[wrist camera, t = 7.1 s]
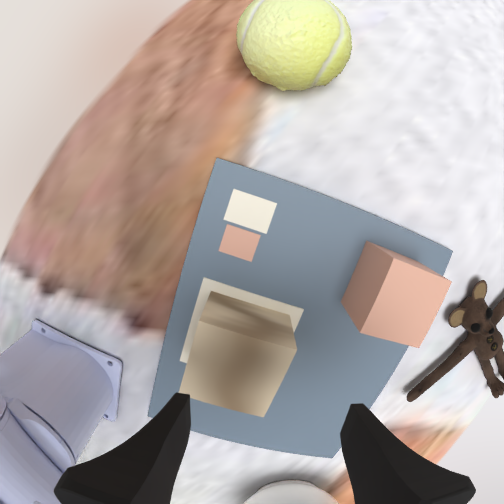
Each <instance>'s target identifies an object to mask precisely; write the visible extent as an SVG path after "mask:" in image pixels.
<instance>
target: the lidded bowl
mask: <svg viewBox="0 0 504 504" xmlns="http://www.w3.org/2000/svg"><path fill="white" fill-rule="evenodd" d="M243 504H339V503H338V502H337V501H336V500H335V498H333V497H332V496H331V495H330V494H329V493H327V492H326V491H324V490H322V489H320V488H317V487H316V486H315V485H314V484H312V483H310V482H307V481H301V480H284V481H278V482H273V483H270V484H267V485H265V486H263V487H262V488H260V489H259V490H258V491H257V493H255V494H254V495H252V496H251V497H250V498H248V499H247V500H246V501H245V502H244V503H243Z"/></svg>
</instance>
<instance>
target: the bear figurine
mask: <svg viewBox="0 0 504 504" xmlns="http://www.w3.org/2000/svg"><path fill="white" fill-rule="evenodd" d="M486 293H487V284H486V281H485V280H481V281H479V282H478V283H477V284H476V285H475V287H474V288H473V291H472V296H470V297H468V298H466V299H465V300H464V301H463V302H462V303H461V304H460V306H459V308H456V309H455V310H453V311H452V313H451V314H450V316H449V319H448V322H449V325H450V326H451V327H454V328H455V327H458V326H459V325H462V326H463V327H464V328H465V329H466V330H467V331H468V336H467V338H466V339H465V340H464V341H462V342H461V343H460V344H459V346H458V347H457V348H456V349H455V350H454V352H453V353H452V354H451V355H450V356H449V357H448V358H447V359H446V360H445V361H444V362H443V363H442V364H440V365H439V366H438V367H437V368H436V369H435V370H434V371H432V372H431V373H430V374H429V375H428V376H426V377H425V378H424V379H423V380H422V381H421V382H420V383H419V384H417V385H416V386H415V387H414V388H413V389H412V390H411V391H410V392H409V393H408V395H407V401H409V402H412V401H414V400H415V399H417V398H418V397H419V396H420V395H421V394H423V393H424V392H425V391H426V390H427V389H429V388H430V387H431V386H432V385H433V384H434V383H436V382H437V381H438V380H439V379H440V378H442V377H443V376H444V375H445V374H446V373H448V372H449V371H450V370H451V369H452V368H453V367H455V366H456V365H457V364H458V363H459V362H460V361H461V360H463V359H464V358H465V357H466V356H467V355H468V354H469V353H470V352H471V351H472V350H473V349H474V351H475V353H476V355H477V356H478V358H479V361H480V363H481V366H482V370H483V371H484V376H485V378H487V384H488V386H489V387H490V389H491V392H492V395H493V396H494V397H495V398H498V397H499V395H503V393H504V383H503V382H501V381H500V380H499V379H498V378H497V377H496V376H495V375H494V372H493V367H492V366H491V363H490V360H489V359H492V358H493V357H494V355H495V357H496V361H497V364H498V368H499V374H500V375H501V376H502V378H503V379H504V352H503V349H502V345H503V337H502V335H501V333H500V332H499V331H498V330H497V328H496V325H497V323H498V322H499V321H500V320H501V319H502V317H503V316H504V298H503V299H502V300H501V301H500V302H499V303H498V304H497V306H496V307H495V308H494V309H493V310H492V309H491V308H488V306H487V304H486V302H485V300H484V298H485V296H486Z"/></svg>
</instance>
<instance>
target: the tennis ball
mask: <svg viewBox="0 0 504 504" xmlns="http://www.w3.org/2000/svg"><path fill="white" fill-rule="evenodd" d="M236 36H237V45H238V48H239V50H240V52H241V54H242V56H243V60H244V62H245V64H246V65H247V67H248V68H249V69H250V71H251V73H252V75H253V76H255V77H257V78H258V80H260V81H262V82H265V83H267V84H271V85H273V86H275V87H277V88H278V89H280V90H282V91H285V90H288V89H289V90H295V91H296V90H301V91H302V90H305V89H308V88H311V87H314V86H321V85H326V84H328V83H329V82H330V81H331V80H332V79H334V78H335V77H337V75H338V74H339V73H340V74H341V71H342V70H343V69H344V67H345V66H346V63H347V62H348V61H349V59H350V55H351V53H350V52H351V50H352V45H351V44H352V42H351V33H350V28H349V25H348V23H347V21H346V18H345V16H344V15H343V14H342V12H341V11H340V10H339V9H338V8H337V7H336V6H335V5H334V4H333V3H332V2H331V1H329V0H254V1H252V3H250V4H249V6H248V7H247V8H246V9H245V10H244V12H243V14H242V15H241V17H240V19H239V22H238V24H237V34H236Z"/></svg>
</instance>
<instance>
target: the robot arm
mask: <svg viewBox="0 0 504 504" xmlns="http://www.w3.org/2000/svg"><path fill="white" fill-rule="evenodd" d="M44 329H45V330H44ZM110 361H111V362H112V363H113V364H112V363H110ZM121 373H122V363H121V361H120V360H118V359H116V358H114V357H111V356H109V355H107V354H105V353H102V352H100V351H98V350H96V349H93V348H91V347H89V346H87V345H85V344H83V343H81V342H79V341H77V340H74V339H72V338H70V337H68V336H66V335H64V334H63V333H61V332H59V331H57V330H55V329H53V328H51V327H49V326H47V325H45V324H44V323H42V322H40V321H38V320H34V321H32V330H30V331H29V332H28V333H27V334H25V335H24V336H23V337H21V338H20V339H19V340H18V341H16V342H15V343H14V344H13V345H12V346H10V347H9V348H8V349H7V350H5V351H4V352H3V353H2V354H1V355H0V504H170V500H171V495H172V490H173V486H174V482H175V479H176V476H177V473H178V470H179V467H180V464H181V462H182V459H183V456H184V453H185V450H186V447H187V444H188V439H189V434H190V428H191V410H190V394H184V393H177V392H176V393H175V394H174V395H173V396H172V397H171V399H170V400H169V401H168V402H167V403H166V405H165V406H164V407H163V408H162V409H161V410H160V411H159V412H158V413H157V414H156V416H155V417H154V418H153V419H152V420H151V421H150V422H149V423H147V424H146V425H145V426H144V427H143V428H142V429H141V430H140V431H138V432H137V433H136V434H135V435H133V436H132V437H131V438H129V439H128V440H127V441H125V442H124V443H122V444H121V445H119V446H117V447H116V448H114V449H112V450H111V451H109V452H107V453H105V454H103V455H101V456H99V457H97V458H94V459H92V460H90V461H87V462H84V463H81V464H78V465H75V464H76V462H77V460H78V458H79V457H80V455H81V453H82V451H83V449H84V448H85V446H86V444H87V442H88V441H89V439H90V437H91V435H92V434H93V432H94V430H95V428H96V427H97V425H98V423H99V422H100V420H101V418H102V417H103V418H105V419H107V420H110V421H115V420H116V418H117V409H118V399H119V389H120V381H121ZM340 439H341V446H342V452H343V456H344V460H345V463H346V467H347V470H348V474H349V478H350V481H351V485H352V489H353V493H354V500H355V504H467V503H468V501H470V500H471V498H472V497H473V496H474V494H475V492H476V489H475V487H474V485H473V483H472V482H471V480H470V478H469V477H468V476H465V475H461V474H458V473H455V472H452V471H449V470H447V469H445V468H442V467H440V466H438V465H436V464H434V463H432V462H430V461H429V460H427V459H425V458H423V457H422V456H420V455H419V454H417V453H416V452H414V451H413V450H411V449H410V448H409V447H407V446H406V445H405V444H404V443H402V442H401V441H400V440H399V439H398V438H397V437H396V436H394V435H393V434H392V433H391V432H390V431H389V430H388V429H387V428H386V427H385V426H384V425H383V424H382V423H381V422H380V421H379V420H378V419H377V417H376V416H375V415H374V414H373V413H372V412H371V411H370V410H369V409H368V408H367V407H366V406H365V405H364V404H363V403H357V404H351V405H350V408H349V410H348V413H347V416H346V419H345V421H344V424H343V426H342V429H341V431H340Z"/></svg>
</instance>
